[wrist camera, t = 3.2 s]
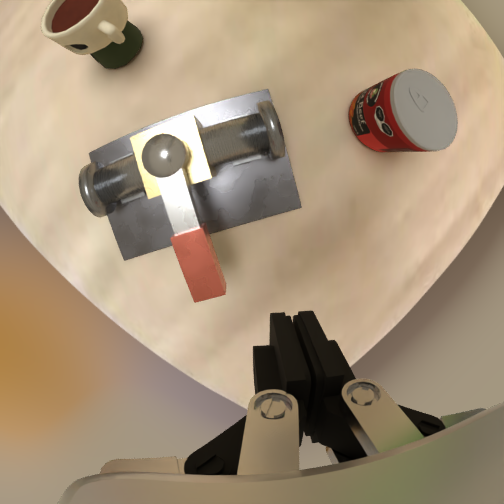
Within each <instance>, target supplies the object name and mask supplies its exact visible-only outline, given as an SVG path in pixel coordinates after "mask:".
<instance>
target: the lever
mask: <svg viewBox="0 0 504 504" xmlns="http://www.w3.org/2000/svg"><path fill="white" fill-rule="evenodd" d="M141 158H142V164H143V166H144V168H145V170H146V171H147V172H148V173H149V174H151V175H152V176H155V177H156V179H157V182H158V186H159V189H160V192H161V195H162V198H163V201H164V204H165V207H166V210H167V213H168V216H169V219H170V222H171V225H172V228H173V231H174V234H173V235H172V236H171V238H170V239H171V242H172V245H173V248H174V250H175V253H176V256H177V258H178V261H179V264H180V266H181V269H182V272H183V274H184V277H185V280H186V282H187V285H188V287H189V290H190V292H191V295H192V297H193V300H194V302H195V303H196V302H199V301H203V300H207V299H211V298H215V297H219V296H222V295H225V294H226V282H225V279H224V276H223V273H222V270H221V267H220V265H219V262H218V259H217V256H216V253H215V250H214V247H213V244H212V241H211V238H210V235H209V232H208V228H207V225H206V222H205V223H202V221H201V218H200V215H199V212H198V209H197V206H196V202H195V199H194V196H193V193H192V190H191V187H190V183H189V180H188V177H187V174H186V170H185V167H186V165H187V163H188V159H189V151H188V148H187V145H186V144H185V142H184V141H183V140H181V139H180V138H178V137H176V136H174V135H171V134H167V133H162V134H158V135H155V136H153V137H152V138H150V139H149V140H148V141H147V142H146V144H145V146H144V148H143V150H142V157H141Z"/></svg>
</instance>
